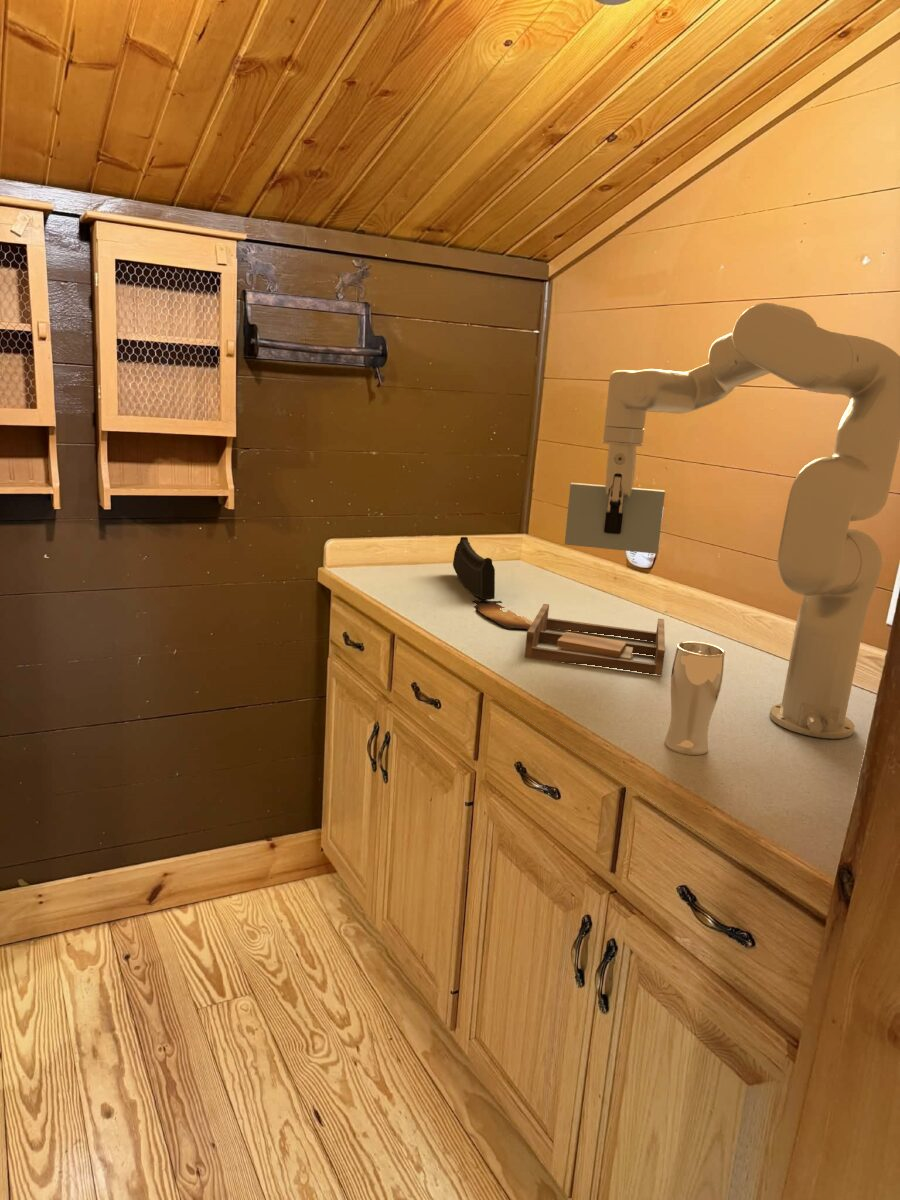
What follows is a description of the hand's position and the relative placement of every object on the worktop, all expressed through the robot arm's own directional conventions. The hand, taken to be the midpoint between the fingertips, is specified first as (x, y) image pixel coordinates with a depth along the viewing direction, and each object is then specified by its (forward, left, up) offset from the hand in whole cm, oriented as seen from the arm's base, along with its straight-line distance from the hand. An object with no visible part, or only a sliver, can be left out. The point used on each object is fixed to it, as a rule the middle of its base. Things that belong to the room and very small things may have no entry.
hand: (612, 531), depth 165 cm
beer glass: (-48, -16, -23) cm, 55 cm away
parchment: (+12, +22, -24) cm, 35 cm away
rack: (-4, 0, -23) cm, 24 cm away
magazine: (+35, +34, -24) cm, 54 cm away
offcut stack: (-9, 0, -24) cm, 26 cm away
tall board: (0, 0, -3) cm, 3 cm away
